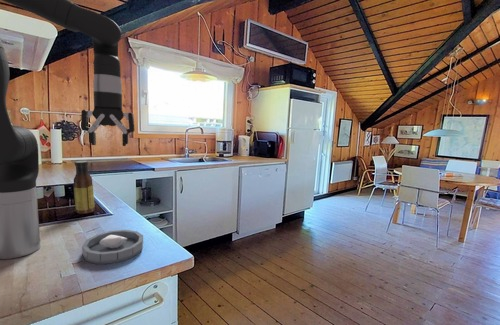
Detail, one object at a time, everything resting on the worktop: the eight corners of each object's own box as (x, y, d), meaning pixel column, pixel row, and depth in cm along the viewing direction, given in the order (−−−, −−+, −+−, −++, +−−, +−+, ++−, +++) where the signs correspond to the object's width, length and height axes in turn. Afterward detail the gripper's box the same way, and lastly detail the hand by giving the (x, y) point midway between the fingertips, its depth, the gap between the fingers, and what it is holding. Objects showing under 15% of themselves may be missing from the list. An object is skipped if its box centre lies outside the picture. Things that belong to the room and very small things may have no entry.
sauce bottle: (91, 208, 105) (89, 159, 102) (97, 212, 101) (95, 161, 98) (72, 211, 100) (69, 160, 97) (78, 216, 96) (75, 163, 93)
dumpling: (102, 255, 68) (102, 240, 67) (97, 247, 72) (97, 234, 71) (130, 247, 73) (130, 233, 72) (124, 240, 76) (124, 228, 76)
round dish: (75, 267, 63) (75, 256, 63) (91, 241, 77) (91, 232, 76) (140, 260, 68) (140, 250, 67) (144, 236, 81) (144, 228, 81)
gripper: (76, 88, 72) (78, 146, 75) (132, 92, 77) (132, 147, 79) (84, 91, 79) (86, 143, 82) (135, 95, 84) (135, 145, 86)
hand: (109, 145), depth 80 cm, fingers open, 8 cm apart
